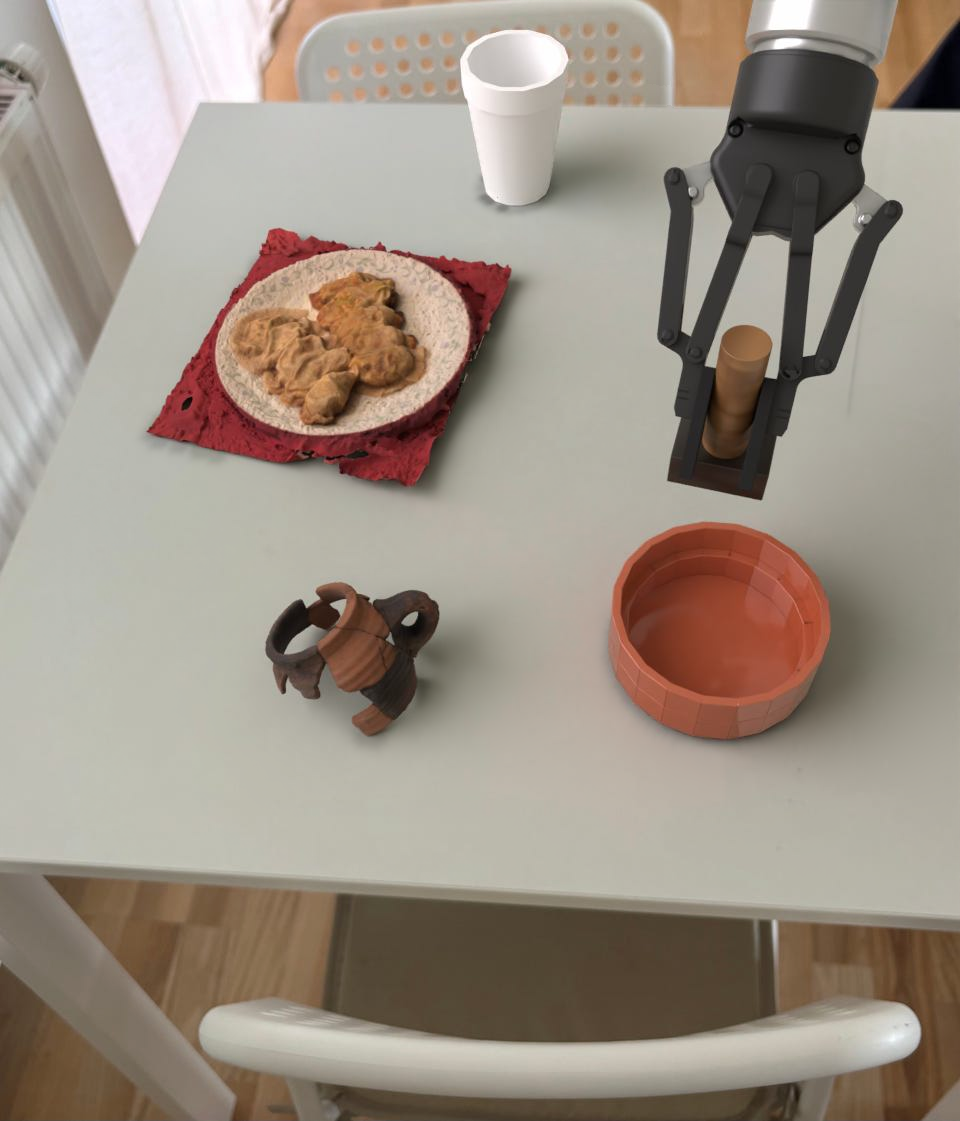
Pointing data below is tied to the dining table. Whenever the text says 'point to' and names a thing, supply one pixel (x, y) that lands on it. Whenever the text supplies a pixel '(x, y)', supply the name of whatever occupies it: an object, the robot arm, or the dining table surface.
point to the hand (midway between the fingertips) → (715, 481)
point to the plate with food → (336, 356)
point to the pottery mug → (356, 648)
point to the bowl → (717, 629)
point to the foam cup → (515, 110)
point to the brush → (730, 418)
